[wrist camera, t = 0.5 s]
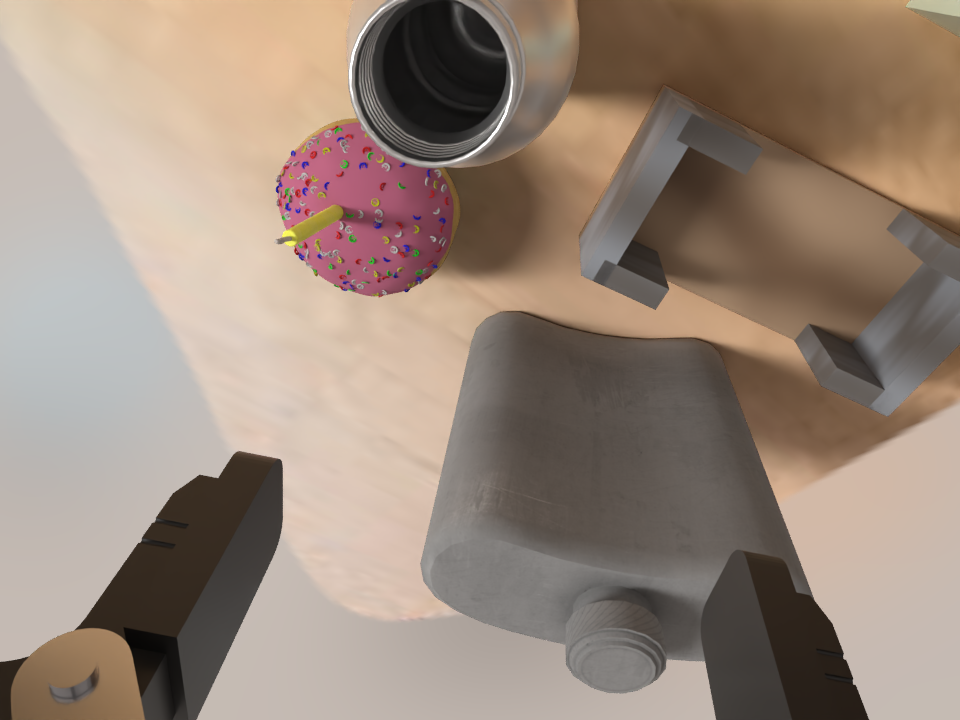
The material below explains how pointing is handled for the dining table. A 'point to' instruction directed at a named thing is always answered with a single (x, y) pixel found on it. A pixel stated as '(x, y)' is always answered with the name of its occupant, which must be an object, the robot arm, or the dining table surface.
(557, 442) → the flask
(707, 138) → the cradle
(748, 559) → the robot arm
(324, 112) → the dining table surface
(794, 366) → the dining table surface
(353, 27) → the plastic bottle
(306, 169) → the cupcake
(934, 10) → the slat
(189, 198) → the dining table surface
